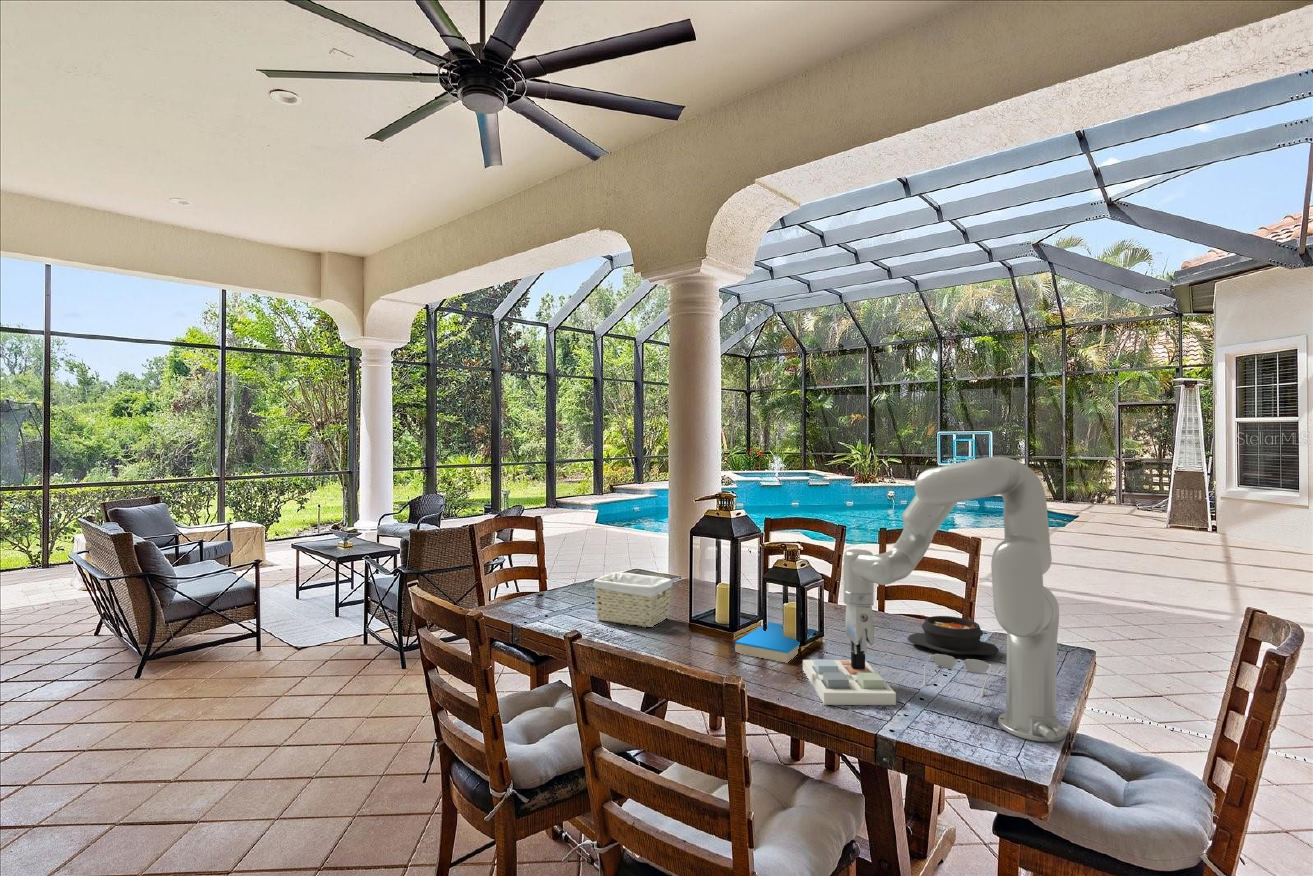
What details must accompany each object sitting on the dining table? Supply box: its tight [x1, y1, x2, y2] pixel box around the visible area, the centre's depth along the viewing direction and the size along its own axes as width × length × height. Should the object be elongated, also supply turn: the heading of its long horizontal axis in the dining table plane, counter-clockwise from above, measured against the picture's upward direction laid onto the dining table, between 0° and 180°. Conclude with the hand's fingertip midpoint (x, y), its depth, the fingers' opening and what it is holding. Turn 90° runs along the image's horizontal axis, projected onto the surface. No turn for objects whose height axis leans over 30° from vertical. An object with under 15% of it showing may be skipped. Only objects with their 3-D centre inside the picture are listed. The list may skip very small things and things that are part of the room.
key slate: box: [823, 672, 849, 689], centre depth 158 cm, size 5×5×2 cm
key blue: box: [813, 658, 838, 675], centre depth 167 cm, size 5×5×2 cm
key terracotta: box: [846, 665, 871, 675], centre depth 167 cm, size 5×5×2 cm
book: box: [733, 621, 817, 664], centre depth 196 cm, size 17×4×25 cm
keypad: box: [802, 659, 897, 706], centre depth 164 cm, size 23×17×3 cm
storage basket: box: [593, 571, 673, 628], centre depth 225 cm, size 24×16×15 cm
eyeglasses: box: [922, 653, 992, 698], centre depth 169 cm, size 15×18×4 cm
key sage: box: [857, 672, 885, 689], centre depth 158 cm, size 5×5×2 cm
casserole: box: [907, 615, 1000, 656], centre depth 194 cm, size 25×19×8 cm
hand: (858, 668), depth 167 cm, fingers closed
